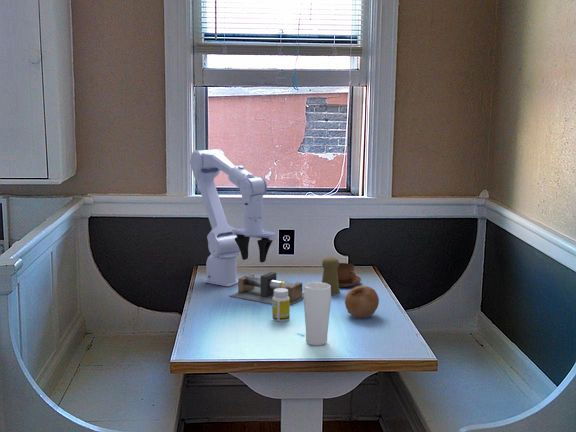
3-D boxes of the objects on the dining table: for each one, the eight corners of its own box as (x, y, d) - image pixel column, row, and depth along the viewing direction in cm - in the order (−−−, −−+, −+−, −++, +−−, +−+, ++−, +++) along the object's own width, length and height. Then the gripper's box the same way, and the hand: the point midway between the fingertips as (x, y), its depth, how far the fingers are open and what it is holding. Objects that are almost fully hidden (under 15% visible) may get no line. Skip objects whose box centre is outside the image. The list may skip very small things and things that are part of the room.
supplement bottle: (291, 317, 203) (292, 288, 202) (286, 322, 199) (286, 293, 197) (275, 315, 205) (275, 286, 203) (269, 320, 200) (269, 291, 199)
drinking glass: (301, 338, 187) (302, 282, 184) (328, 337, 188) (329, 281, 185) (304, 348, 180) (305, 289, 178) (331, 347, 181) (333, 289, 178)
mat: (229, 296, 222) (229, 295, 222) (254, 285, 234) (254, 284, 234) (286, 307, 212) (286, 306, 212) (309, 295, 224) (309, 294, 224)
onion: (358, 331, 202) (351, 304, 196) (342, 312, 209) (335, 286, 204) (387, 316, 204) (382, 289, 198) (370, 298, 212) (365, 272, 206)
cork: (340, 290, 230) (340, 256, 228) (339, 295, 224) (340, 260, 222) (320, 289, 230) (321, 255, 228) (319, 294, 225) (320, 260, 223)
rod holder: (238, 292, 225) (238, 277, 224) (249, 287, 230) (249, 272, 229) (291, 302, 216) (291, 286, 215) (302, 297, 221) (302, 281, 220)
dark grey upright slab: (260, 295, 221) (260, 276, 220) (270, 290, 226) (270, 271, 225) (266, 296, 220) (266, 277, 219) (276, 291, 225) (276, 272, 224)
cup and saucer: (367, 282, 239) (367, 264, 238) (350, 291, 229) (350, 272, 228) (335, 277, 245) (335, 259, 244) (317, 285, 235) (317, 267, 234)
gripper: (226, 216, 222) (226, 260, 224) (266, 221, 214) (267, 266, 217) (239, 213, 228) (239, 255, 230) (279, 217, 220) (279, 261, 223)
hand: (253, 260), depth 224 cm, fingers open, 6 cm apart
